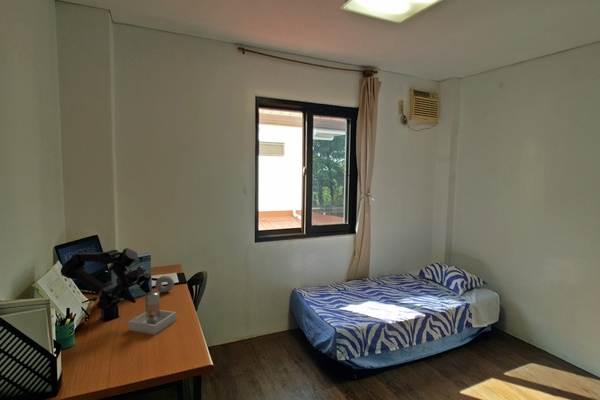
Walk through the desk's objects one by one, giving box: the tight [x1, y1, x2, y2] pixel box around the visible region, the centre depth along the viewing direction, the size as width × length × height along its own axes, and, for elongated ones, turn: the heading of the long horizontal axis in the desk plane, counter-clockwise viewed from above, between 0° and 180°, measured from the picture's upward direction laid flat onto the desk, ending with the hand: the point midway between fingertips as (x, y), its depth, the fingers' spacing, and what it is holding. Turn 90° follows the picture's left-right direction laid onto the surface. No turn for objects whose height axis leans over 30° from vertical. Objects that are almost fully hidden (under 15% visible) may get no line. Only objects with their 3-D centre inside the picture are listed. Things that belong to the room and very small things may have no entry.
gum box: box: [110, 253, 153, 302], centre depth 175 cm, size 20×5×23 cm, turn 134°
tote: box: [127, 309, 177, 336], centre depth 143 cm, size 14×14×4 cm
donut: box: [154, 275, 175, 294], centre depth 182 cm, size 10×4×10 cm, turn 113°
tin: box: [145, 290, 161, 325], centre depth 142 cm, size 6×6×14 cm
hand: (143, 298), depth 143 cm, fingers open, 9 cm apart
